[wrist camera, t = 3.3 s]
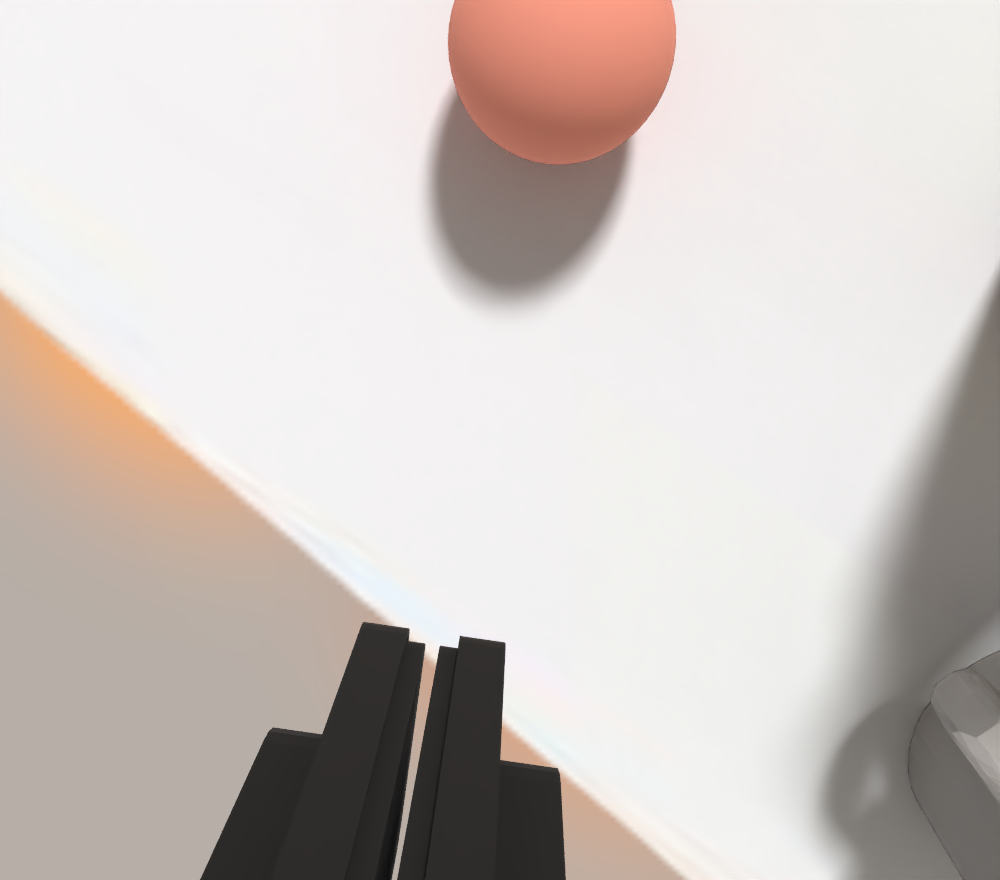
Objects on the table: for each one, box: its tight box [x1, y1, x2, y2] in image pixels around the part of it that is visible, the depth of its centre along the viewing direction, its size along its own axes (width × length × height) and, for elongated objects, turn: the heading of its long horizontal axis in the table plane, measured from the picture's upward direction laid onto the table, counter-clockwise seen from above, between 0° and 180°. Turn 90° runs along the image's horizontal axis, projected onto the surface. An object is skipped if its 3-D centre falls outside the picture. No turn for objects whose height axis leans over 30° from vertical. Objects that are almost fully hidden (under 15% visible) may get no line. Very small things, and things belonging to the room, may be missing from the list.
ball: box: [448, 0, 676, 165], centre depth 22 cm, size 6×6×6 cm
